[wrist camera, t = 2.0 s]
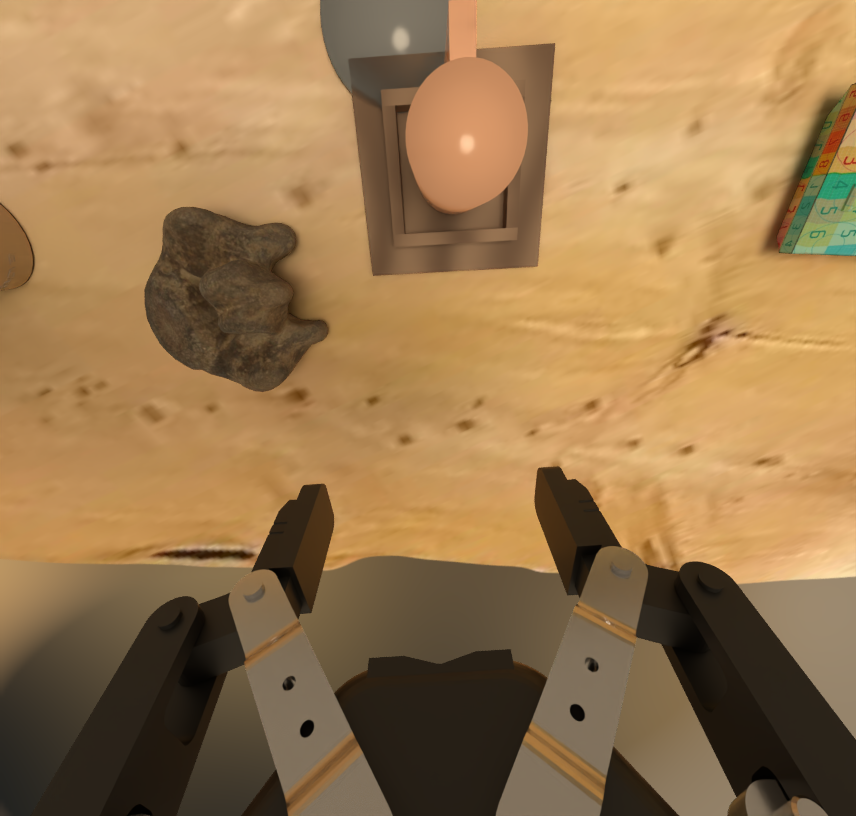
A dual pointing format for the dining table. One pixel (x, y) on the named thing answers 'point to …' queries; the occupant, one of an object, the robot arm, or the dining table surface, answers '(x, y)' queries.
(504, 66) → the holder
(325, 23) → the grey disc
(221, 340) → the decorative stone
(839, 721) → the robot arm
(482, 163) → the peach orange tall mug
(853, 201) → the puzzle game
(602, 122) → the dining table surface
